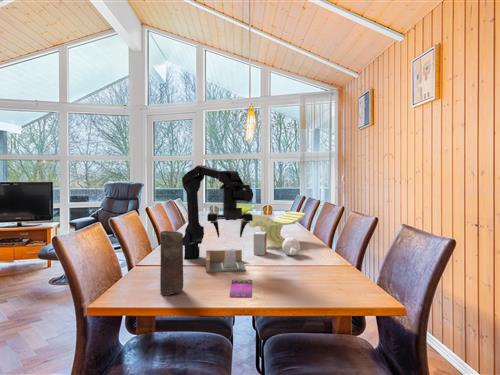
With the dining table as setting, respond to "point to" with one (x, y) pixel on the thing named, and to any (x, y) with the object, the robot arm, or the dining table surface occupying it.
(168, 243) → the grey-brown tall block
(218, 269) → the corner tray
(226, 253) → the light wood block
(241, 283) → the smartphone
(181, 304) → the dining table surface
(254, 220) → the slatted curved stool
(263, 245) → the small box
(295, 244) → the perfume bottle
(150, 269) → the dining table surface
